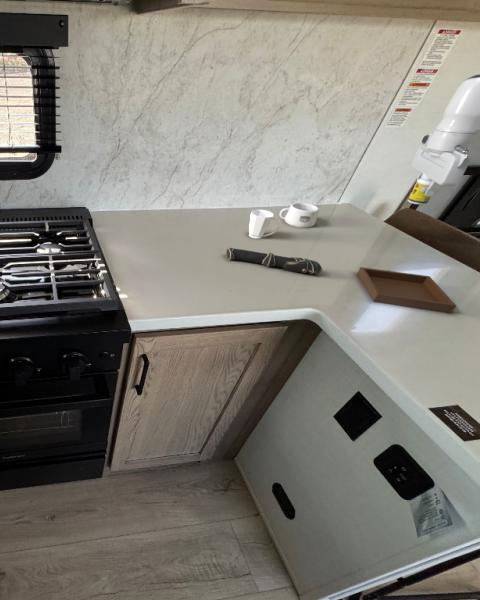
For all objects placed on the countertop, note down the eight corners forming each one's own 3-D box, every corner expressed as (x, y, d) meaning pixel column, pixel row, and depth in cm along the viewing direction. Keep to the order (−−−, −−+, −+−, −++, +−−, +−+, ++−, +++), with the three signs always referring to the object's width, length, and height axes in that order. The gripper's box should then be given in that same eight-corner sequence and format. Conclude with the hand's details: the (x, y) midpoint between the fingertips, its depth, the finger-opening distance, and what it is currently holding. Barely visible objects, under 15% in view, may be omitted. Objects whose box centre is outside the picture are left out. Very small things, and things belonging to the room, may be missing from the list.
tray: (424, 284, 91) (429, 276, 90) (450, 314, 81) (456, 305, 80) (356, 274, 96) (360, 267, 94) (372, 302, 85) (377, 294, 84)
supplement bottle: (406, 198, 108) (421, 170, 103) (426, 201, 105) (442, 173, 100) (407, 203, 104) (422, 174, 100) (427, 206, 102) (444, 177, 97)
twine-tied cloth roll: (225, 251, 100) (324, 269, 91) (228, 240, 103) (325, 257, 94) (222, 262, 103) (318, 281, 94) (226, 251, 106) (319, 268, 97)
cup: (242, 231, 119) (248, 208, 114) (272, 233, 118) (280, 210, 113) (246, 240, 113) (253, 216, 109) (278, 242, 112) (287, 218, 107)
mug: (310, 219, 127) (316, 203, 123) (317, 229, 119) (324, 213, 116) (274, 215, 129) (280, 200, 126) (279, 226, 122) (285, 209, 118)
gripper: (486, 151, 86) (453, 204, 94) (446, 135, 102) (420, 182, 110) (455, 150, 88) (425, 202, 96) (420, 134, 104) (396, 181, 112)
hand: (422, 192), depth 103 cm, fingers closed on supplement bottle, 5 cm apart
